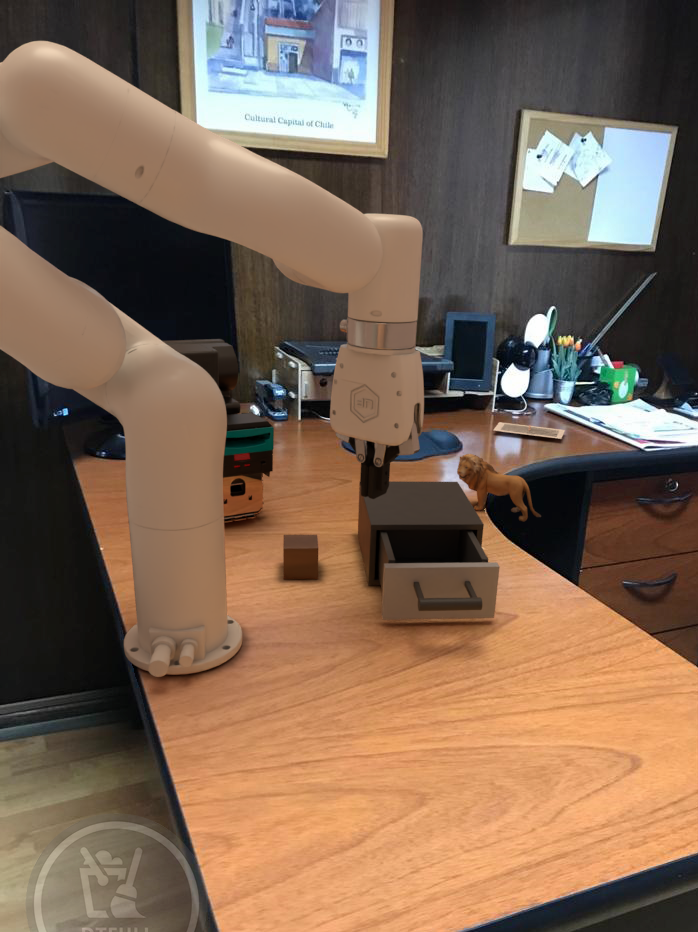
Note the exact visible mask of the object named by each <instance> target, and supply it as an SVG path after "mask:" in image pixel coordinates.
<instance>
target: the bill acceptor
mask: <svg viewBox="0 0 698 932" xmlns="http://www.w3.org/2000/svg"><path fill="white" fill-rule="evenodd" d="M162 341H163V342H164V343H165V344H167V345H168V346H170V347H171V348H173V349H174V350H176V351H177V352H179V353H180V354H182V355H184V356H185V357H187V358H189V359H190V360H192V361H193V362H195V363H196V364H198V365H199V366H201V367H202V368H203V369H204V370H205V371H206V372H207V373H208V374H209V375H210V376H211V377H212V378H213V379H214V381H215V382H216V384H217V386H218V387H219V389H220V391H221V393H222V396H223V399H224V402H225V406H226V413H227V432H226V441H225V450H224V460H223V509H224V523H230V522H233V521H235V522H236V521H243V520H247V519H248V520H249V519H256V517H257V516H256V514H257V515H258V514H259V513H261V512H262V510H263V509H264V504H265V503H264V483H263V482H264V479H263V478H264V476H267V477H268V478H270V475H271V473H272V472H273V471H274V464H273V463H274V446H275V445H274V441H275V438H274V437H275V427H274V426H273V425H272V423H270V422H269V421H268V420H266V419H265V418H263V417H260V416H258V415H257V414H255V413H254V412H241V403H240V401H238V400H236V399H234V398H233V390H234V389H236V387H237V384H238V381H239V363H238V359H237V355H236V352H235V350H234V347H233V345H231V344H229V343H228V342H225V340H224V339H222V338H211V339H210V338H209V339H206V338H205V339H184V340H183V339H181V340H180V339H179V340H162Z"/></svg>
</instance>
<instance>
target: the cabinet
mask: <svg viewBox="0 0 698 932" xmlns="http://www.w3.org/2000/svg"><path fill="white" fill-rule="evenodd" d="M358 487H359V488H358V489H359V490H358V518H357V538H358V543H359V548H360V552H361V557H362V562H363V566H364V567H363V568H364V572H365V577H366V580H367V584H368V585H367V586H381V584H380V580H379V576H378V572H377V568H376V564H375V559H376V536H377V530H472V531H473V533H474V535H475V536H476V538H477V540H478V542H479V544H480V545H481V547H482V545H483V538H484V537H483V536H484V526H485V525H484V522H483V521H482V519H481V517H480V516H479V513H477V510H475V509H474V506H473V505H472V503H471V501H470V500H469V498H468V497H467V495H466V493H465V492H464V490H463V488H462V486H461V485H460V483H459V482H458V481H397V480H396V481H394V480H393V481H391V480H389V487H388V489H387V492H386V493H385V494H383V495H381V496H379V497H377V498H375V499H371V498H369V497H368V496H367V497H364V496H361V485H360V482H359V486H358ZM482 548H483V547H482Z"/></svg>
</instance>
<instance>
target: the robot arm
mask: <svg viewBox="0 0 698 932" xmlns="http://www.w3.org/2000/svg"><path fill="white" fill-rule="evenodd" d="M52 163H56V164H57V165H59V166H61V167H63V168H65V169H67V170H69V171H71V172H73V173H74V174H77V175H79V176H80V177H83V178H85V179H86V180H89V181H91V182H93V183H94V184H96V185H99V186H101V187H102V188H104V189H107V190H109V191H110V192H113V193H114V194H117V195H118V196H121V197H122V198H125V199H127V201H130V202H133V204H136V205H138V206H140V207H142V208H144V209H146V210H147V211H149V212H152V213H153V214H155V215H157V216H159V217H161V218H163V219H165V220H167V221H168V222H171V223H175V224H177V225H179V226H182V227H183V228H186V229H189V230H191V231H195V232H198V233H202V234H204V235H210V236H213V237H217V238H220V239H224V240H226V241H230V242H233V243H235V244H238V245H241V246H243V247H244V248H248V249H250V250H252V251H254V252H256V253H259V254H260V255H263V256H265V257H267V258H270V259H272V262H273V263H274V265H275V267H276V268H277V269H278V270H279V272H280V273H281V274H282V275H284V276H285V277H286V278H288V279H289V280H291V281H293V282H295V283H297V284H300V285H304V286H308V287H312V288H315V289H316V288H317V289H321V290H325V291H328V292H331V293H336V294H347V295H348V296H347V317H346V319H342V320H341V321H340V322H339V330H340V332H343V333H346V343H344V344H340V346H339V350H338V353H337V357H336V362H335V366H334V371H333V378H332V383H331V384H332V385H331V394H330V405H329V407H330V409H329V425H330V428H331V429H332V431H334V432H335V436H336V437H337V438H338V439H339V440H341V441H343V442H345V443H347V444H349V446H350V447H351V448H352V449H353V451H354V452H355V456H356V457H355V458H356V460H357V462H358V463H360V476H359V477H360V478H359V480H360V481H359V483H360V485H361V496H364V497H367V496H368V497H369V498H371V499H375V498H377V497H379V496H381V495H383V494H385V493H386V492H387V489H388V487H389V481H390V474H391V473H390V472H391V463H392V462H394V461H395V460H396V459H397V458H398V457H399V456H412V455H414V454H415V455H416V454H417V453H419V452H420V451H421V448H420V441H419V437H421V435H422V432H423V426H424V414H425V413H424V412H425V387H424V369H423V363H422V357H421V351H419V350H416V347H417V346H416V345H417V332H418V317H419V316H418V315H419V303H420V301H419V300H420V286H421V285H420V283H421V269H422V256H423V255H422V254H423V240H424V239H423V232H424V231H423V226H422V224H421V222H420V221H419V219H417V218H416V217H414V216H410V215H404V214H391V213H388V214H387V213H363V212H362V211H360V210H358V209H357V208H356V207H354V206H353V205H351V204H350V203H348V202H347V201H344V200H343V199H342V198H339V197H338V196H337V195H335V194H333V193H331V192H330V191H328V190H326V189H325V188H323V187H321V186H320V185H318V184H316V183H315V182H313V181H311V180H309V179H307V178H306V177H304V176H302V175H301V174H299V173H296V172H295V171H293V170H290V169H288V168H287V167H285V166H282V165H280V164H278V163H276V162H274V161H272V160H270V159H268V158H266V157H263V156H262V155H259V154H257V153H256V152H253V151H251V150H249V149H247V148H246V147H244V146H242V145H240V144H238V143H237V142H235V141H233V140H230V139H228V138H226V137H224V136H221V135H219V134H217V133H215V132H213V131H211V130H209V129H208V128H206V127H204V126H203V125H201V124H199V123H197V122H195V121H193V120H192V119H190V118H189V117H186V116H185V115H183V114H181V112H179V111H177V110H176V109H172V108H171V107H169V106H168V105H166V104H164V103H163V102H161V101H159V100H158V99H156V98H154V97H152V95H149V94H148V93H146V92H144V91H143V90H141V89H139V88H138V87H136V86H134V84H132V83H129V82H128V81H126V80H125V79H123V78H121V77H120V76H118V75H116V74H114V73H113V72H112V71H109V70H108V69H106V68H104V66H101V65H99V64H97V63H96V62H94V61H93V60H91V59H90V58H87V56H84V55H82V54H80V53H79V52H77V51H75V50H74V49H71V48H69V47H67V46H65V45H62V44H59V43H56V42H52V41H48V40H34V41H30V42H27V43H23V44H21V45H20V46H18V47H17V48H15V49H14V50H12V51H11V52H10V53H9V54H8V55H7V56H6V58H4V60H3V61H1V62H0V179H2V178H6V177H10V176H13V175H16V174H20V173H24V172H27V171H30V170H34V169H36V168H40V167H42V166H45V165H49V164H52ZM163 341H164V340H161V339H160V338H159V337H157V336H156V335H154V334H153V333H152V332H151V331H149V330H148V329H146V328H145V327H144V326H142V325H141V324H139V323H138V322H137V321H135V320H134V319H133V318H131V317H130V316H128V315H127V314H126V313H125V312H123V311H122V310H120V309H119V308H118V307H116V306H115V305H114V304H113V303H111V302H109V301H108V299H106V298H105V297H104V296H103V295H102V294H101V293H100V292H98V291H97V290H96V289H94V288H93V287H91V286H90V285H88V284H86V283H85V282H83V281H81V280H79V279H77V278H74V277H72V276H69V275H67V273H65V272H63V271H62V270H60V269H58V268H57V267H56V266H55V265H53V264H52V263H50V261H48V260H47V259H45V258H44V257H42V256H41V255H39V254H38V253H37V252H35V251H34V250H33V249H31V248H30V247H29V246H27V245H26V244H25V243H24V242H22V241H21V240H20V239H19V238H18V237H17V236H16V235H14V234H12V233H11V232H10V231H8V230H7V229H6V228H5V227H3V226H2V225H0V350H1V351H3V352H4V353H5V354H7V355H9V356H10V357H12V359H14V360H16V361H17V362H19V363H20V364H22V365H23V366H24V367H26V369H28V370H29V371H31V373H33V374H34V375H35V376H37V377H39V378H40V379H41V380H43V381H45V382H47V383H50V384H51V385H54V386H56V387H60V388H64V389H68V390H73V391H75V392H76V393H78V394H80V395H81V396H82V397H84V398H86V399H87V400H89V401H91V402H92V403H93V404H95V405H96V406H98V407H100V408H101V409H102V410H104V411H106V412H108V414H110V415H112V416H113V417H115V418H116V419H117V420H118V422H119V423H120V424H121V426H122V428H123V435H124V442H125V472H124V473H125V494H126V495H125V498H126V509H127V511H126V512H127V518H128V529H129V531H128V532H129V541H130V553H131V554H130V555H131V565H132V578H133V590H134V601H135V603H134V604H135V614H136V623H135V624H134V625H133V626H132V627H131V628H129V630H128V631H127V632H126V633H125V636H124V639H123V650H124V655H125V657H126V659H127V660H128V661H129V662H130V663H131V664H132V665H134V666H135V667H137V668H139V669H141V670H143V671H147V672H148V673H149V674H150V675H151V676H153V677H156V678H161V677H164V676H166V675H169V676H170V675H171V676H172V675H173V676H174V675H176V676H177V675H189V674H196V673H200V672H204V671H207V670H211V669H213V668H216V667H218V666H220V665H222V664H224V663H226V662H227V661H229V660H230V659H231V658H233V657H234V656H235V655H236V654H237V653H238V652H239V651H240V649H241V647H242V644H243V629H242V627H241V624H240V623H239V622H238V621H237V620H236V619H235V618H233V617H231V615H228V598H227V597H228V596H227V595H228V593H227V592H228V591H227V569H226V568H227V567H226V563H227V562H226V537H225V536H226V535H225V534H226V533H225V522H224V509H223V460H224V450H225V441H226V432H227V413H226V406H225V402H224V399H223V396H222V393H221V391H220V389H219V387H218V386H217V384H216V382H215V381H214V379H213V378H212V377H211V376H210V375H209V374H208V373H207V372H206V371H205V370H204V369H203V368H202V367H201V366H199V365H198V364H196V363H195V362H193V361H192V360H190V359H189V358H187V357H185V356H184V355H182V354H180V353H179V352H177V351H176V350H174V349H173V348H171V347H170V346H168V345H167V344H165V343H164V342H163Z"/></svg>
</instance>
